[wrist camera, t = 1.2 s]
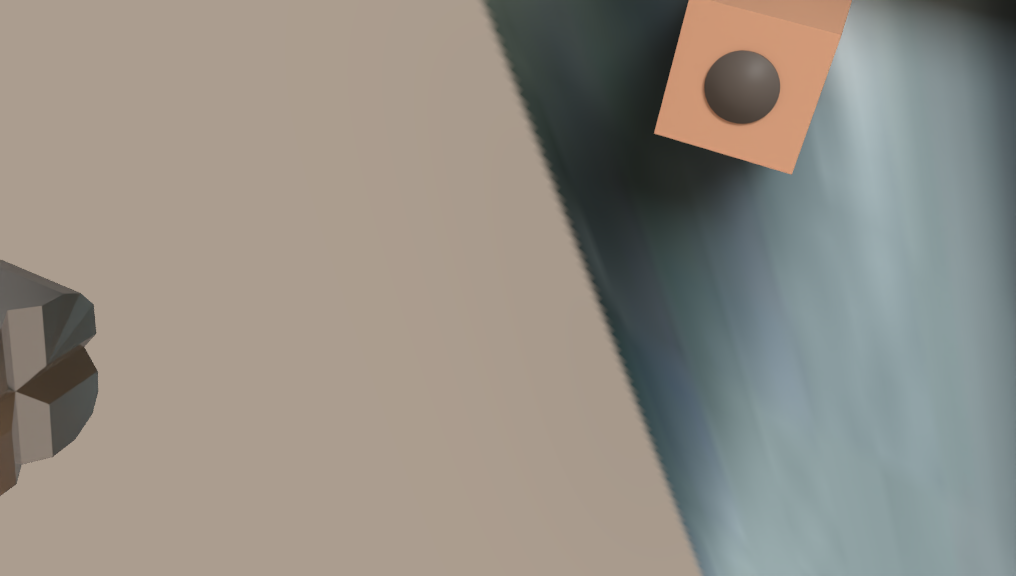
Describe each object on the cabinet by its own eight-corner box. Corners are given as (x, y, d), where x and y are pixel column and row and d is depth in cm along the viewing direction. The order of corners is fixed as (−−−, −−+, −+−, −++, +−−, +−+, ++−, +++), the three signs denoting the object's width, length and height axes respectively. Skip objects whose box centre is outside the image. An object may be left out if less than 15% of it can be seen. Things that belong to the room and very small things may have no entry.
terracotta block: (729, -47, 30) (689, -4, 25) (856, -15, 29) (841, 36, 24) (696, 73, 32) (653, 134, 27) (813, 106, 31) (791, 175, 26)
